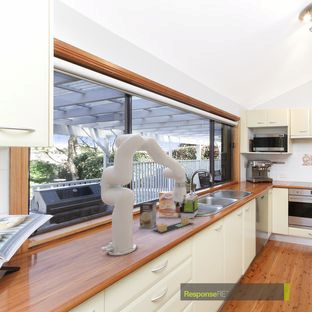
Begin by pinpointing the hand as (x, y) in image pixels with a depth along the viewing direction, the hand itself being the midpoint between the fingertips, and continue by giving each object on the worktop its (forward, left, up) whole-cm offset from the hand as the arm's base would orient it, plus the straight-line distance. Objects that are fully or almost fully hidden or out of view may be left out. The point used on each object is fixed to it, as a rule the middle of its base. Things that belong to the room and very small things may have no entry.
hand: (179, 211), depth 149 cm
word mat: (-5, 0, -10) cm, 11 cm away
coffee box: (-15, +15, -10) cm, 23 cm away
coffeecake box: (+10, +26, -10) cm, 30 cm away
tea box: (+21, +15, -10) cm, 28 cm away
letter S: (0, 0, -1) cm, 1 cm away
